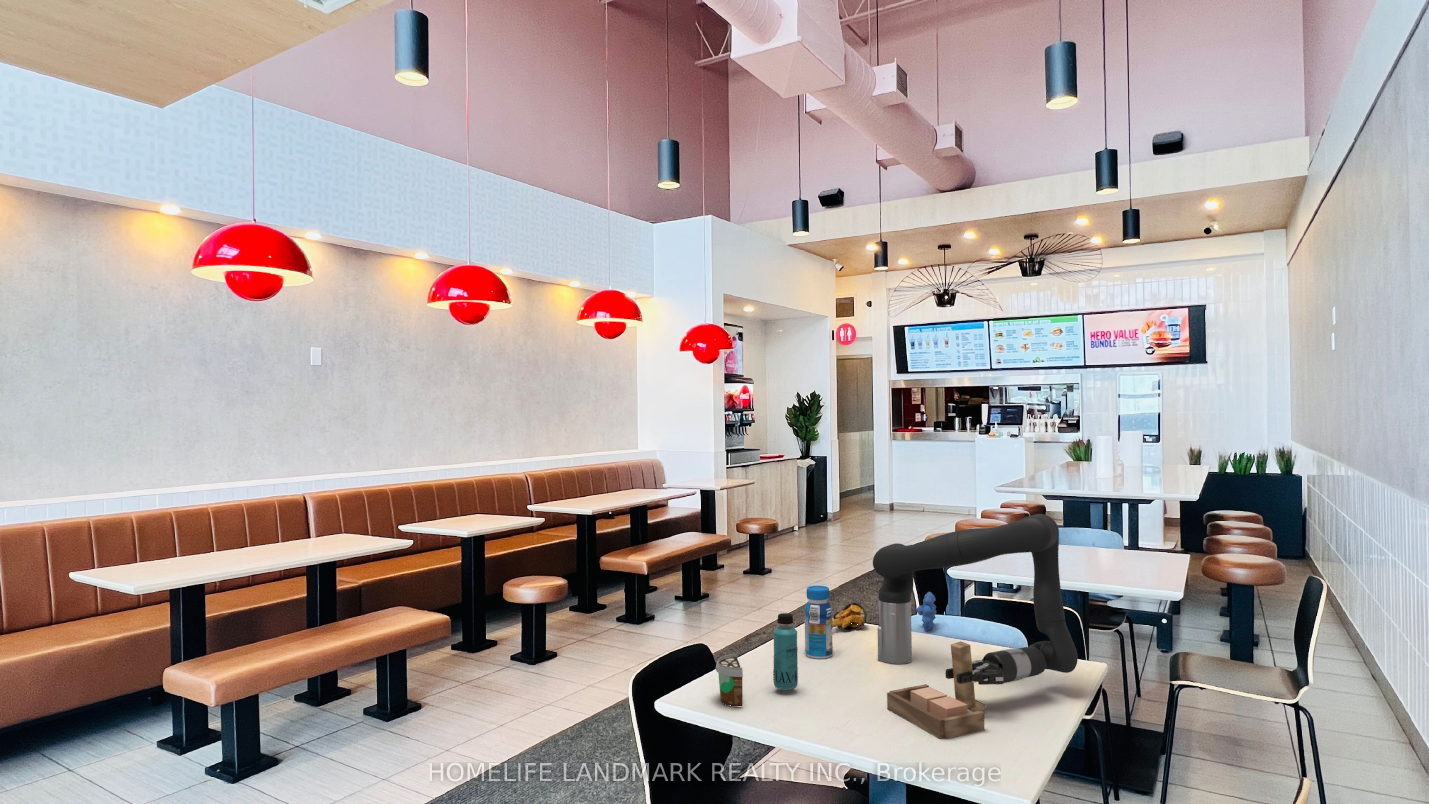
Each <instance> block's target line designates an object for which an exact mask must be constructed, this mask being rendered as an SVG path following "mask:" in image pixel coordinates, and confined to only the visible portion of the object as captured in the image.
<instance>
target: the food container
mask: <svg viewBox="0 0 1429 804" xmlns="http://www.w3.org/2000/svg"><path fill="white" fill-rule="evenodd" d="M738 659H739V658H738V653H730V654H727V655H722V656H721V657H719V658H718V659H717V662H716V665H715V671H716V672H717V673H718V685H719V693H720V696H719V697H720V702H721V703H722V704H723V703H724V704H723V705H725V704H726V705H725V706H727V705H731V706H743V707H744V705H743V703H744V702H743V700H744V699H743V695H744V694H743V688H744V687H743V677H744V674H743V667H741V665H740V662H739V660H738ZM731 706H730V707H731Z"/></svg>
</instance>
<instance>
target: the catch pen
mask: <svg viewBox="0 0 1429 804" xmlns="http://www.w3.org/2000/svg"><path fill="white" fill-rule="evenodd" d="M927 687H930V685H928V684H926V683H925V684H924V683H923V684H920V685H915V686H910V687H904V688H899V689H898V688H897V689H894V690H889V692H886V707H887V710H888V711H890V712H891V713H893V714H895V715H897V716H898V717H901V718H903V719H904V720H906V721H908V722H909V723H910V724H913V725H915V726H916V727H918V728H920V729H922V730H923V731H925V732H927V733H929V734H931V735H933V736H934V737H936V739H937V738H938V739H940V740H941V739H945V740H947V739H951V738H952V739H953V738H956V737H960V736H965V735H969V734H973V733H978V732H982V731H985V712H984V711H983V710H981V711H976V712H971V713H967V714H962V715H957V716H953V717H948V718H944V719H941V718H939V717H938V716H936V715H934V714H932V713H930V712H928V711H926V710H924V709H922V708H921V707H919V706H917V705H915V704H913V703H911V692H910V691H912V690H917V689H922V688H927Z"/></svg>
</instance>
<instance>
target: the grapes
mask: <svg viewBox="0 0 1429 804" xmlns="http://www.w3.org/2000/svg"><path fill="white" fill-rule="evenodd" d="M936 600H937V599H936V597H935V595H934V594H933V593H932V592H931V591H927V592H926V593H925V595H924V598H923V600H922V602H923V603H922V605H919V606H918V607H916V609H915V611H916V614H918V615H919V616H921V617H922V619H921V621H922V622H923V624H922V627H923V628H924V630H925V631H927V632H928V631H930V630H931V629H932V628H933V627H935V623H934V621H935V620H936V618H937V617H935V616H936V614H937V610H936V608H937V606H936V604H935V601H936Z"/></svg>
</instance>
